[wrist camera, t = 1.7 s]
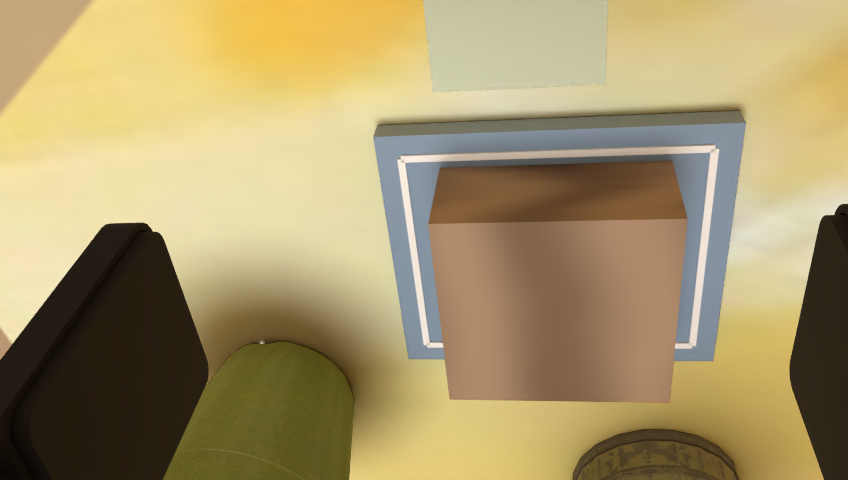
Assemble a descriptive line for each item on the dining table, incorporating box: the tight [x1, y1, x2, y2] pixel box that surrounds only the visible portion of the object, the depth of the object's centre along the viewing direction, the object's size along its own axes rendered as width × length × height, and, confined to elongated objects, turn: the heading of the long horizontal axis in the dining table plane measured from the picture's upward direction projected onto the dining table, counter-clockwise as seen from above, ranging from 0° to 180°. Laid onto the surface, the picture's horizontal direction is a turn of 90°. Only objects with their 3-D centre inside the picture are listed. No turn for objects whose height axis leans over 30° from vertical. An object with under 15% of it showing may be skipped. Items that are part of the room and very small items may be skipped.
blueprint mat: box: [373, 111, 746, 361], centre depth 34 cm, size 14×12×1 cm
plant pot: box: [163, 342, 354, 480], centre depth 38 cm, size 12×12×11 cm
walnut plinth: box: [428, 161, 688, 403], centre depth 32 cm, size 9×9×4 cm
